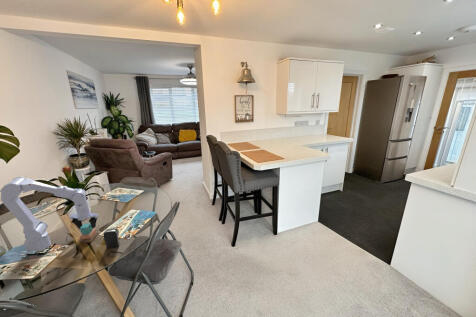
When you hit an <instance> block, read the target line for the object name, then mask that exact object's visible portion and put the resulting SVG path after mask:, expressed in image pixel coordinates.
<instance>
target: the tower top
mask: <svg viewBox="0 0 476 317" xmlns="http://www.w3.org/2000/svg"><path fill="white" fill-rule="evenodd" d="M96 232H98V231H97V228H93V230H92V231H91V233H90V234H84V235H82V233H81V234H79V235H78V237H79V239H90V238H92V237H93V236H94V234H95V233H96Z"/></svg>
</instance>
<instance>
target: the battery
mask: <svg viewBox="0 0 476 317" xmlns="http://www.w3.org/2000/svg"><path fill="white" fill-rule="evenodd" d="M119 233H120V232H119V229H118V228H107V229H106V230H105V231H104V232H103V234H102V235H103V240H104V243H105V247H106V248H107V249H109V248H110V249H113V248H119V247H120V244H121V243H120V239H119V238H120V237H119V235H120V234H119Z"/></svg>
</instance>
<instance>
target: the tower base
mask: <svg viewBox="0 0 476 317" xmlns="http://www.w3.org/2000/svg"><path fill="white" fill-rule="evenodd" d="M98 235H99V231H97V232H96V233H95V234H94V236H93V237H92V238H90V239H80V238H79V239H78V243H92V242H93V241H94V240H95V239H96V238H97V236H98Z"/></svg>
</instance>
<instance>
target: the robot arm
mask: <svg viewBox="0 0 476 317" xmlns="http://www.w3.org/2000/svg"><path fill="white" fill-rule="evenodd" d="M29 184H30V185H29ZM31 191H37V192H44V193H49V194H50V193H51V194H53V195H55V197H58V198H59V197H60V198H63V199H68V200H71V201H72V202H73V203H74V207H75V210H76V213H75V214H71V215H70V216H69V219H70V220H71V223H72V224H73V225H75V226H76V227H77V228H78V229H79V230H80V227H81V226H82V225H83V223H82V220H85V219H88V223H91V226H92V228H93V229H96V227H97V226H96V225H97V221H98V218H99V213H95V212H91V211H90V208H89V204H88V200H87V197H86V195H87V191H86V190H85V189H83V188H72V187H68V186H67V185H61V186H54V185H50V184H46V183H43V182H40V181H36V180H34V179H32V178H26V177H24V176H17V177H15V178H13V179H12V180H11V181H10V182H8V183H7V184H5V185H4V186H3V187H2V188H0V201H1V202H2V203H3V205H4V206H5V208H7V209H8V210H9V212H10V213H11V214H12V215H13V216H14V217H15V219H16V220H17V221H18V222H19V223H20V224H21V226H23V230H22V233H23V234H24V239H25V240H24V242H23V245H24V248H25V251H26V252H31V251H35V252H37V251H40V250H43V249H45V248H47V247H49V246H50V245H51V243H52V242H51V239H50V236H49V233H48V231H47V229H48V224H47V223H46V222H44V221H42V219H39V218H38V219H37V218H36V217H35V215H34V214H33V213H32V212H31V211H30V209H29V208H28V207H27V205H26V204H25V203H24V202H23V201H22V200H21V197H19V196H20V195H21V193H23V194H25V193H28V192H31Z"/></svg>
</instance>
